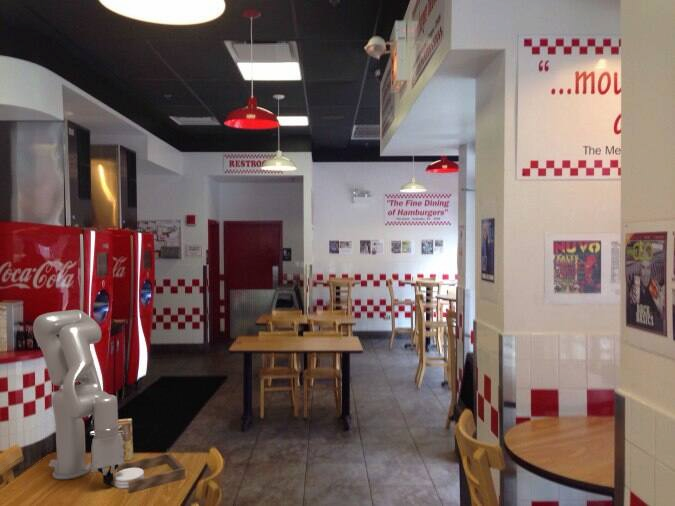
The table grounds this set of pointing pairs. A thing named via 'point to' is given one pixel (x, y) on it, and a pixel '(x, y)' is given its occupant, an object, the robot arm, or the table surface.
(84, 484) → the table surface
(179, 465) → the walnut frame
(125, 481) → the white round tub
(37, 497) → the table surface
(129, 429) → the candy box
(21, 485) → the table surface
